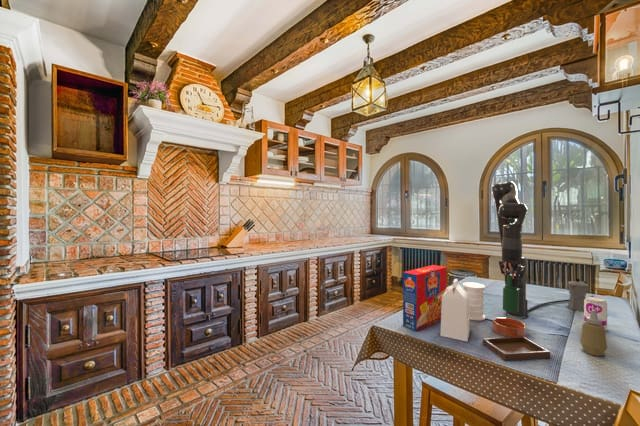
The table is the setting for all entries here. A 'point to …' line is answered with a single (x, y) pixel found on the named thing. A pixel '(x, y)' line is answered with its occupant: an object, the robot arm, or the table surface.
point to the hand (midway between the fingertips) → (511, 285)
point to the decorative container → (475, 300)
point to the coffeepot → (577, 294)
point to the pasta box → (423, 296)
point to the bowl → (509, 327)
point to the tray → (516, 348)
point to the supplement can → (597, 305)
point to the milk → (455, 313)
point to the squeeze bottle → (593, 335)
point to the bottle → (510, 296)
